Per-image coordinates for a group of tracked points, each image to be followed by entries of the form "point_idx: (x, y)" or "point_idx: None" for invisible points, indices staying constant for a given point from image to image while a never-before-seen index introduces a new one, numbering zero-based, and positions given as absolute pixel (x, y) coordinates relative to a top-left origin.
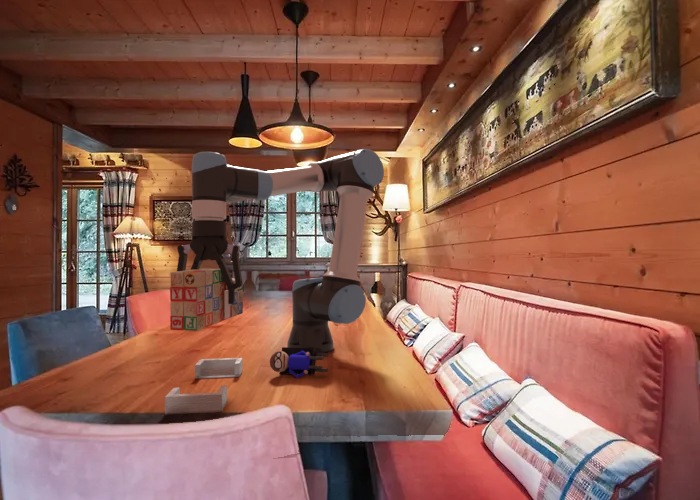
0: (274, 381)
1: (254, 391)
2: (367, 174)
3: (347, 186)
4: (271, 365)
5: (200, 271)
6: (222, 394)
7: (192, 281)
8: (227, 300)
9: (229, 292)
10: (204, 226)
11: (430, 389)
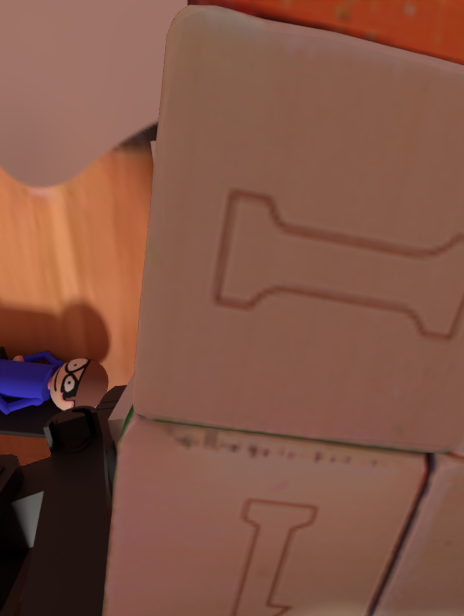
0: (97, 333)
1: (125, 271)
2: None
3: None
4: (99, 366)
5: (351, 42)
6: (152, 149)
7: None
8: (132, 379)
9: (109, 430)
10: None
11: None
